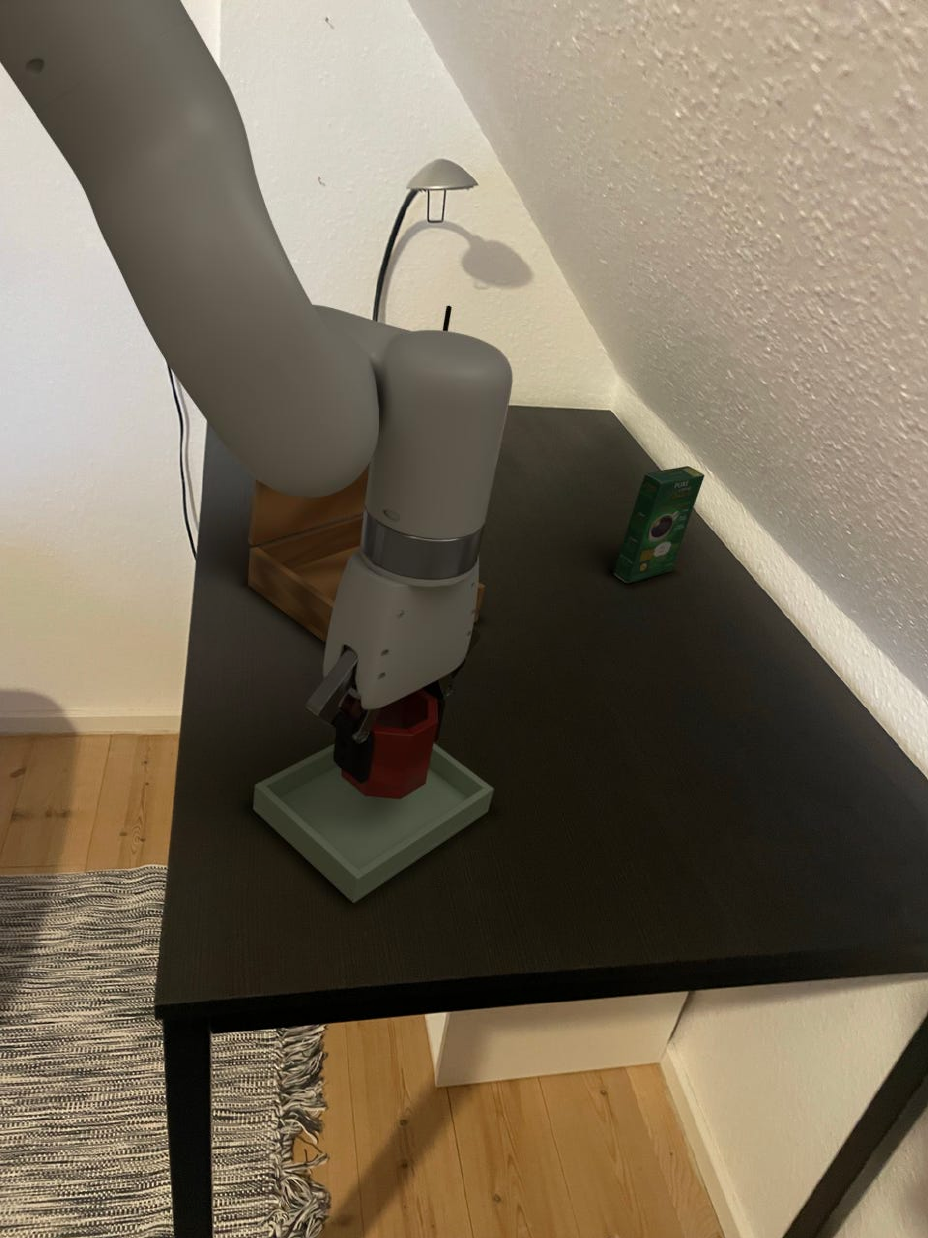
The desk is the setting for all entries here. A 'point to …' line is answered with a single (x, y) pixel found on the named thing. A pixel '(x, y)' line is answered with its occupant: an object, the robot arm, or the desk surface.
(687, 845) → the desk surface
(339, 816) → the tray
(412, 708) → the red octagonal tube
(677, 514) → the coffee box
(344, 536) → the chest
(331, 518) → the lid
